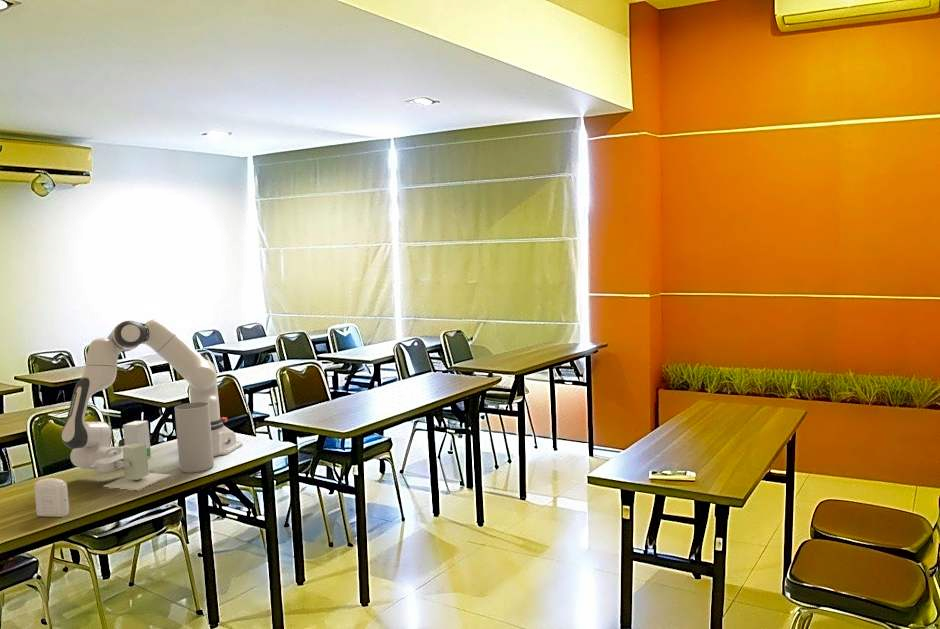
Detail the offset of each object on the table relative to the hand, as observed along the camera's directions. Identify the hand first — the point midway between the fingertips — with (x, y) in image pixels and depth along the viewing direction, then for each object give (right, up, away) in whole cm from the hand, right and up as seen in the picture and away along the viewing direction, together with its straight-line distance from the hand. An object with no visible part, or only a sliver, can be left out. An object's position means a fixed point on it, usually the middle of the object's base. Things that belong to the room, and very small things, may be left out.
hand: (137, 461), depth 269 cm
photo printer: (-14, -12, -30) cm, 35 cm away
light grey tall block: (-1, -6, +1) cm, 6 cm away
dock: (0, -8, +1) cm, 8 cm away
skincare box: (-14, -6, +31) cm, 35 cm away
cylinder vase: (+16, -6, +15) cm, 23 cm away
